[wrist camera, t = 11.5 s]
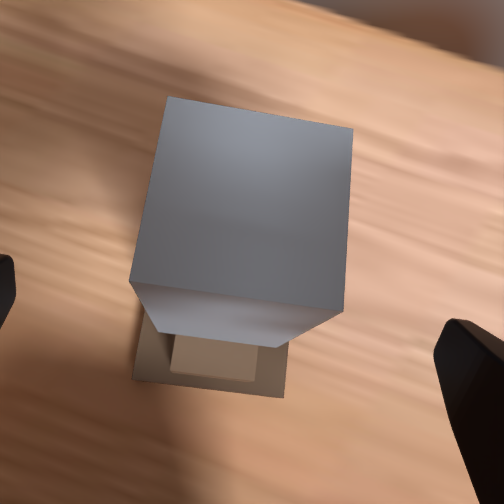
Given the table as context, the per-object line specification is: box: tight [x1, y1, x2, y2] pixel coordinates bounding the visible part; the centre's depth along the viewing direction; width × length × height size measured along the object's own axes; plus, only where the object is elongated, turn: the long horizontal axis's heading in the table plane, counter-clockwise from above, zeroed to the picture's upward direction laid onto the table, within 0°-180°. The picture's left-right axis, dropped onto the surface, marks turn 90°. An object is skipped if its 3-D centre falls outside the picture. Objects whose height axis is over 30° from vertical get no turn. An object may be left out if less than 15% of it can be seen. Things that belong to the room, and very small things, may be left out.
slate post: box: [129, 96, 353, 348], centre depth 15 cm, size 5×5×9 cm
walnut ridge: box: [132, 310, 289, 398], centre depth 21 cm, size 9×7×4 cm
